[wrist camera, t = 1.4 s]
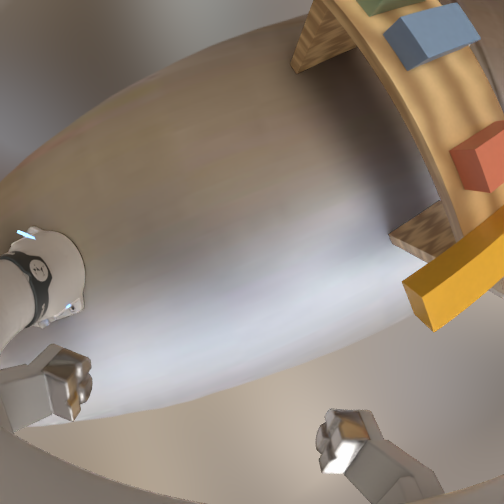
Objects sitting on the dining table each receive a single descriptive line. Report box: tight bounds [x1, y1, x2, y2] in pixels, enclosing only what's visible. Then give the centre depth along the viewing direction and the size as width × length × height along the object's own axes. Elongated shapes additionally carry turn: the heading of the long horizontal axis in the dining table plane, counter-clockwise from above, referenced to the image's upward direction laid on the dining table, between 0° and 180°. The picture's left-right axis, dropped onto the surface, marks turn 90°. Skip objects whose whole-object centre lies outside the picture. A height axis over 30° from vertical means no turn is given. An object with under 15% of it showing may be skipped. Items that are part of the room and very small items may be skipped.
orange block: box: [402, 205, 504, 332], centre depth 23 cm, size 20×4×4 cm, turn 122°
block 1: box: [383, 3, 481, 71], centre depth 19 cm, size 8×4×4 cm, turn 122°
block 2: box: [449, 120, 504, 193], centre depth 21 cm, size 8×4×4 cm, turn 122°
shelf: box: [290, 0, 504, 263], centre depth 34 cm, size 12×34×24 cm, turn 32°
